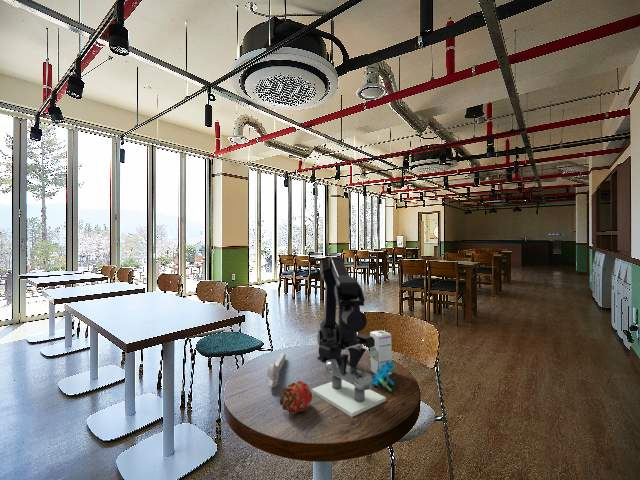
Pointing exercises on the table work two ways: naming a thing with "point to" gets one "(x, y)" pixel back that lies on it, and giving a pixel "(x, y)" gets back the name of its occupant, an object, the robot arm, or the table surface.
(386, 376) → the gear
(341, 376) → the ball-ended metal rod
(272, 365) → the wrench
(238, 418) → the table surface
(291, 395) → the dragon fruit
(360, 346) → the robot arm
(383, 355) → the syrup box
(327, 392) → the peg board
